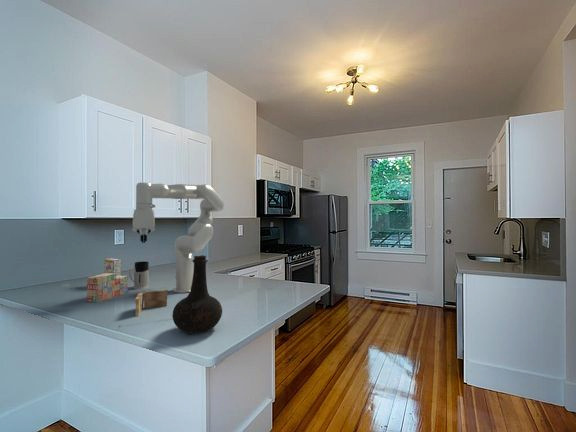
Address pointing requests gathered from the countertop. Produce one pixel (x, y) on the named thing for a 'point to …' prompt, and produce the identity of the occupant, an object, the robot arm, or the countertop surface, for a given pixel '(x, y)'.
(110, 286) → the stack of blocks
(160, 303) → the fixed fence panel
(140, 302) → the panel
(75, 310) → the countertop surface
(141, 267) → the white and black mug
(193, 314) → the glass bottle
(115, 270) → the candy bar box
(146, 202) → the robot arm
